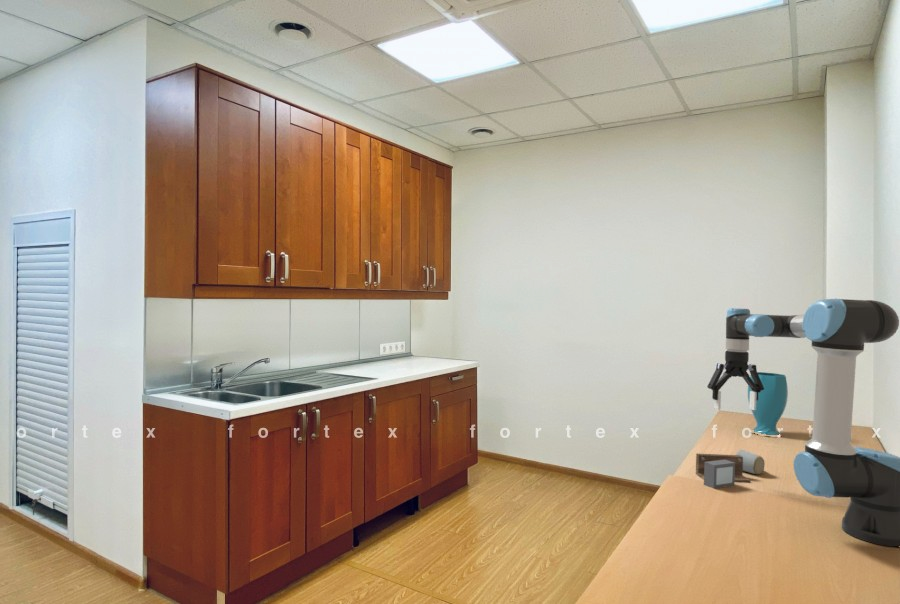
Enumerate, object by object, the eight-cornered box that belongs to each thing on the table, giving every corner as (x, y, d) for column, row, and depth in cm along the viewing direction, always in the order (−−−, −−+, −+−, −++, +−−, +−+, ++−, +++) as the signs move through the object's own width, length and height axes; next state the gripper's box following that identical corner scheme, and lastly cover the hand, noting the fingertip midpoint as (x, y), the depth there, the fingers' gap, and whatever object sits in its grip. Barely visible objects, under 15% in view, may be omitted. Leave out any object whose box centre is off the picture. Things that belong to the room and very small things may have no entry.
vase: (738, 430, 275) (740, 372, 275) (764, 429, 281) (766, 371, 281) (767, 439, 259) (769, 376, 259) (794, 437, 264) (796, 376, 264)
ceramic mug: (755, 476, 199) (755, 455, 199) (733, 470, 205) (734, 450, 206) (770, 473, 204) (770, 452, 204) (748, 467, 211) (749, 447, 211)
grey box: (734, 485, 188) (735, 462, 188) (713, 488, 184) (714, 465, 184) (724, 482, 191) (725, 459, 191) (703, 484, 187) (704, 461, 187)
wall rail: (750, 482, 192) (750, 461, 192) (704, 480, 192) (705, 459, 192) (739, 475, 199) (740, 455, 199) (695, 473, 200) (696, 453, 200)
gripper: (762, 350, 201) (760, 407, 201) (698, 348, 198) (696, 406, 198) (776, 352, 193) (774, 411, 193) (710, 350, 191) (708, 410, 191)
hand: (734, 409), depth 196 cm, fingers open, 13 cm apart
